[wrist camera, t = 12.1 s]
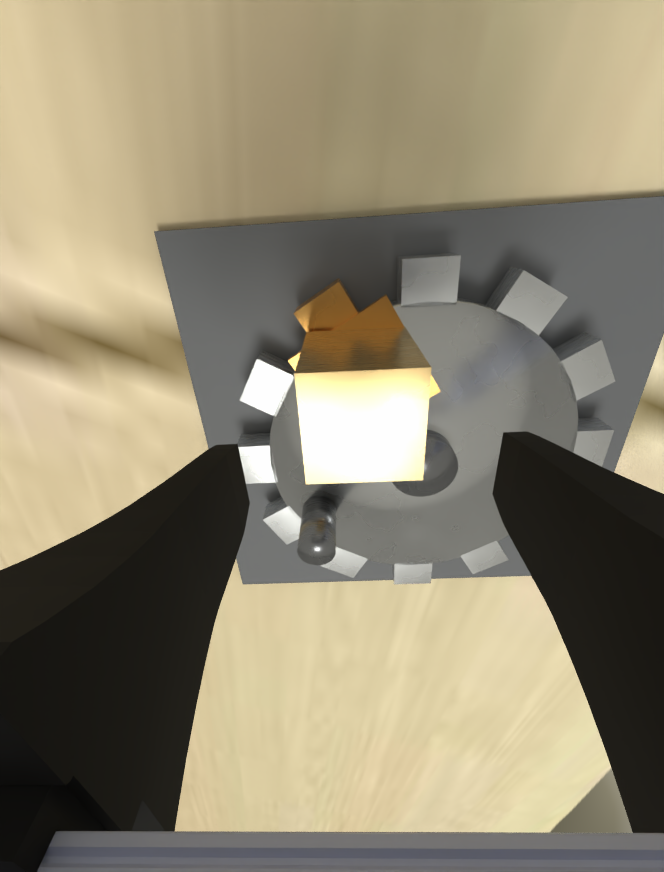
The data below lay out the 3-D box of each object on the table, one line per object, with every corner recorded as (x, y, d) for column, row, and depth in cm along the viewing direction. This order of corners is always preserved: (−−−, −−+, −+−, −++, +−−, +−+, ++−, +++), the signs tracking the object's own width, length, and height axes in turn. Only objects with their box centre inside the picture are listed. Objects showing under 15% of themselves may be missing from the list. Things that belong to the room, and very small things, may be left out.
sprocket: (521, 149, 14) (589, 121, 10) (637, 486, 21) (702, 543, 17) (167, 398, 19) (125, 442, 15) (358, 602, 26) (361, 666, 22)
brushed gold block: (405, 326, 15) (431, 367, 11) (401, 415, 17) (422, 480, 13) (306, 331, 16) (294, 373, 11) (314, 419, 18) (305, 484, 13)
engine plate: (705, 193, 15) (714, 192, 15) (574, 569, 25) (577, 574, 25) (157, 231, 16) (154, 231, 16) (244, 579, 26) (242, 584, 26)
